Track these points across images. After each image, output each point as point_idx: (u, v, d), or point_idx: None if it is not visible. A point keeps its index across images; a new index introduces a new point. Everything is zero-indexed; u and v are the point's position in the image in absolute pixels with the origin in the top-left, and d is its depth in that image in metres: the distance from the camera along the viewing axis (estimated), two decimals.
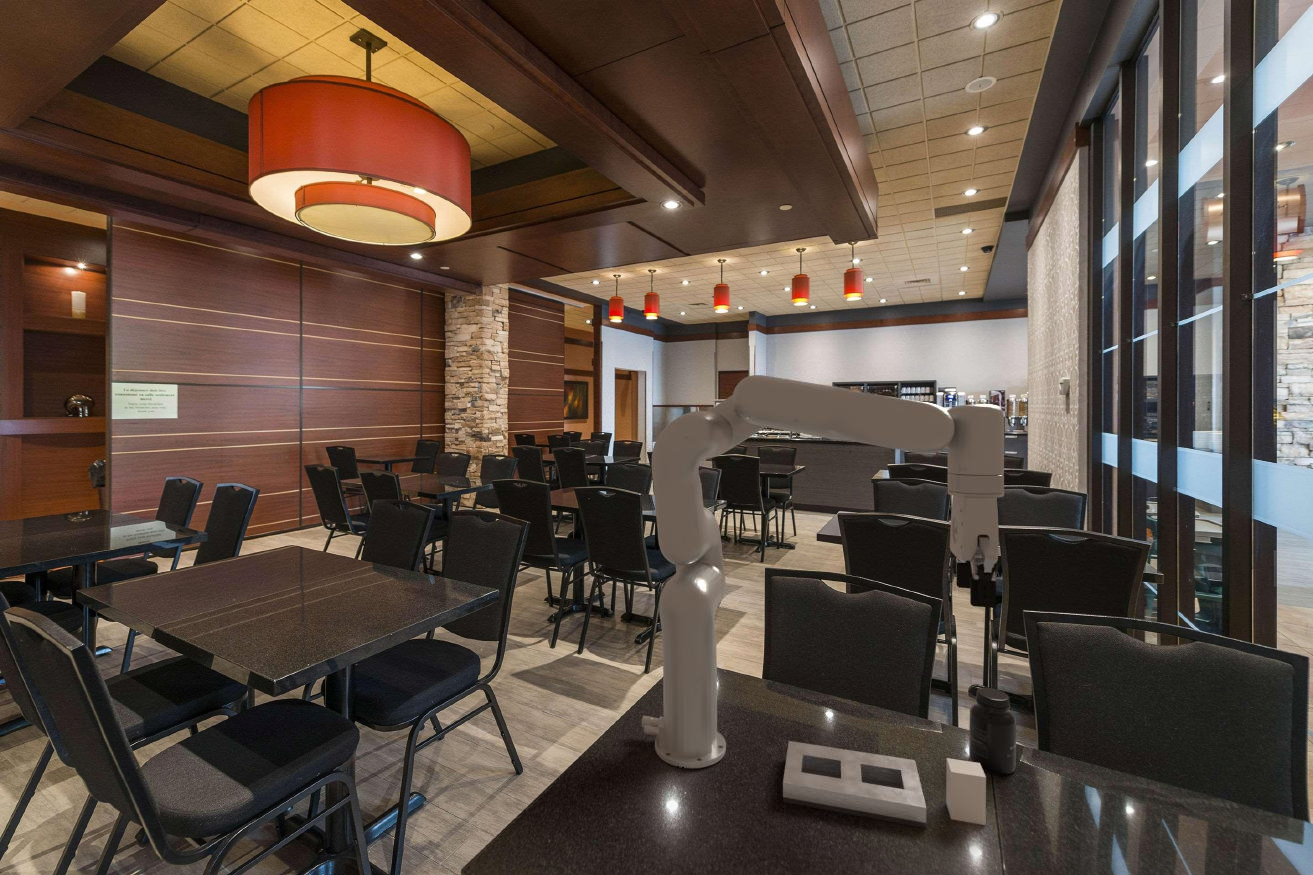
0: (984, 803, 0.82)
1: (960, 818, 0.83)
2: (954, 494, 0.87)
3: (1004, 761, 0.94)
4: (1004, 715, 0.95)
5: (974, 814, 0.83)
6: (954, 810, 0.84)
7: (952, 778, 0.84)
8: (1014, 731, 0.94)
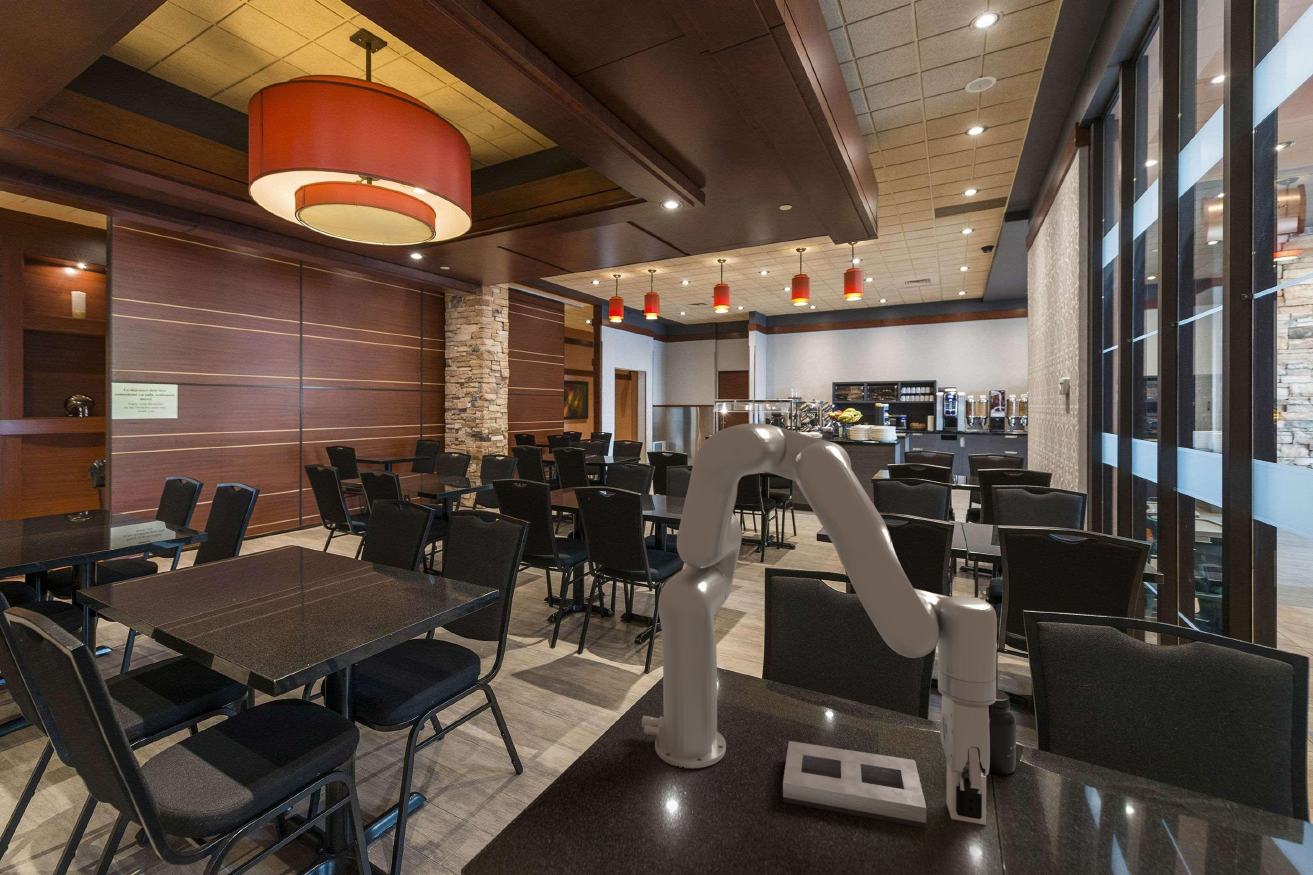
0: (984, 803, 0.82)
1: (960, 818, 0.83)
2: (944, 695, 0.83)
3: (1004, 761, 0.94)
4: (1004, 715, 0.95)
5: None
6: (954, 810, 0.84)
7: (952, 778, 0.84)
8: (1014, 731, 0.94)
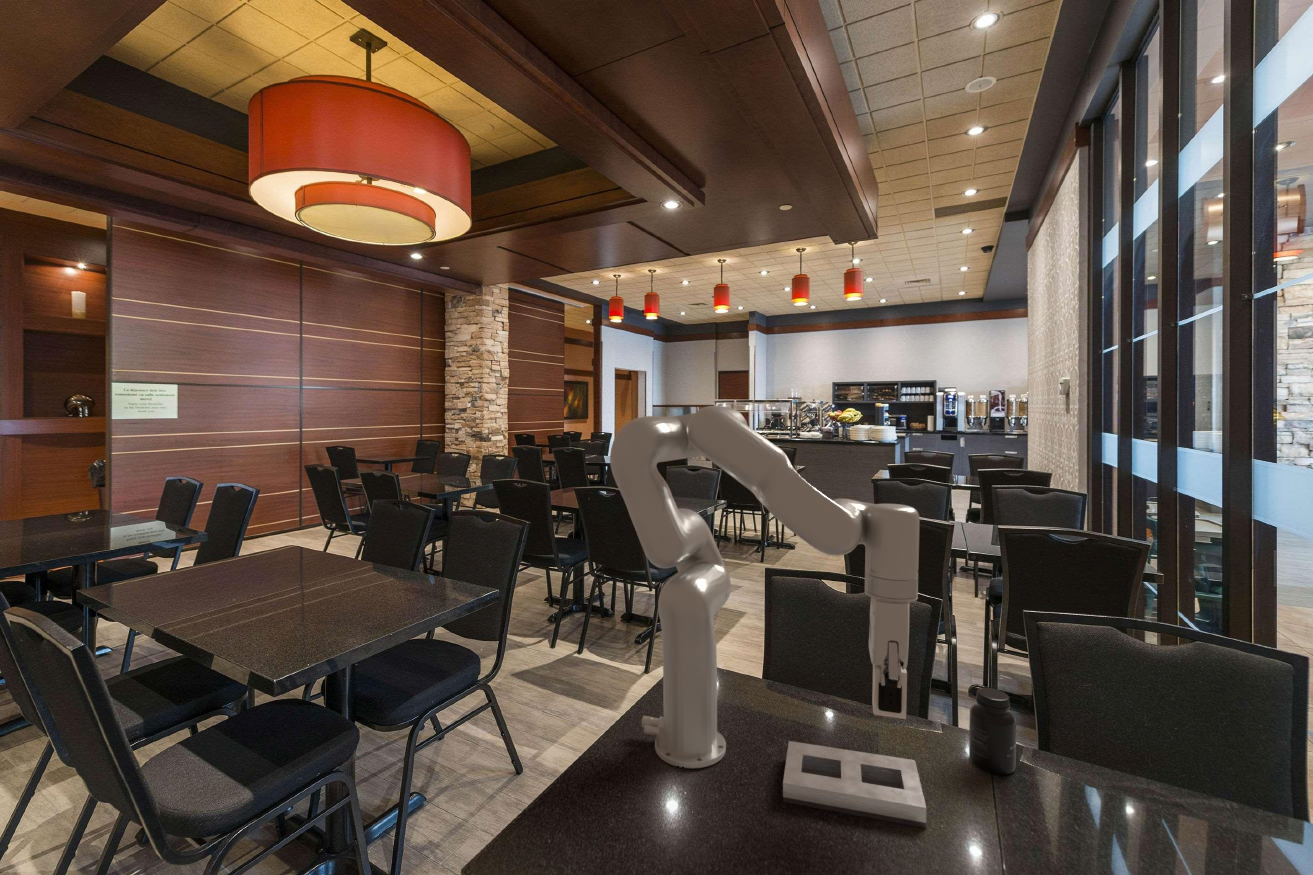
0: (905, 698, 0.86)
1: (882, 713, 0.87)
2: (869, 595, 0.87)
3: (1004, 761, 0.94)
4: (1004, 715, 0.95)
5: None
6: (877, 706, 0.87)
7: (875, 675, 0.87)
8: (1014, 731, 0.94)
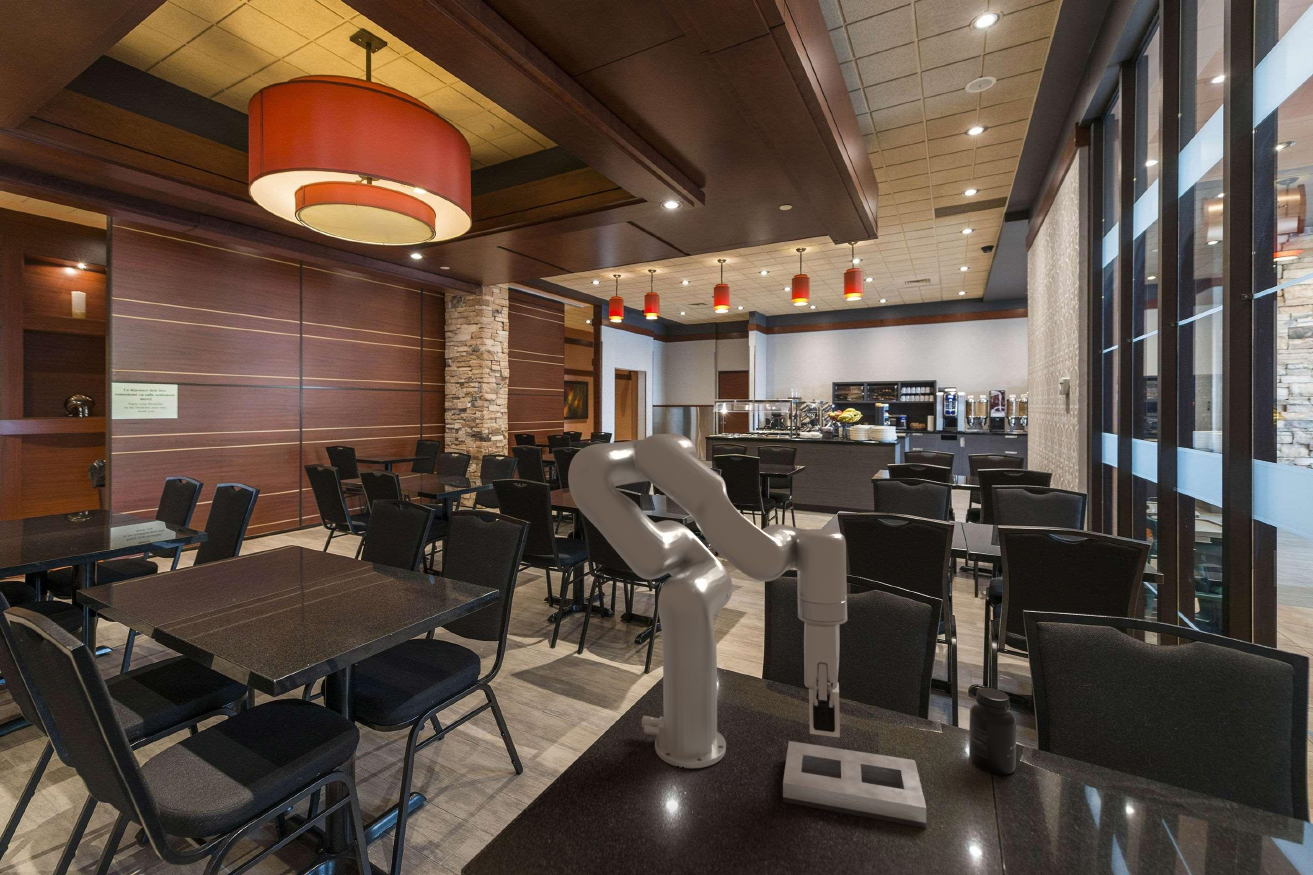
0: (838, 717, 0.89)
1: (818, 732, 0.90)
2: (800, 618, 0.90)
3: (1004, 761, 0.94)
4: (1004, 715, 0.95)
5: None
6: (812, 725, 0.90)
7: (810, 695, 0.90)
8: (1014, 731, 0.94)
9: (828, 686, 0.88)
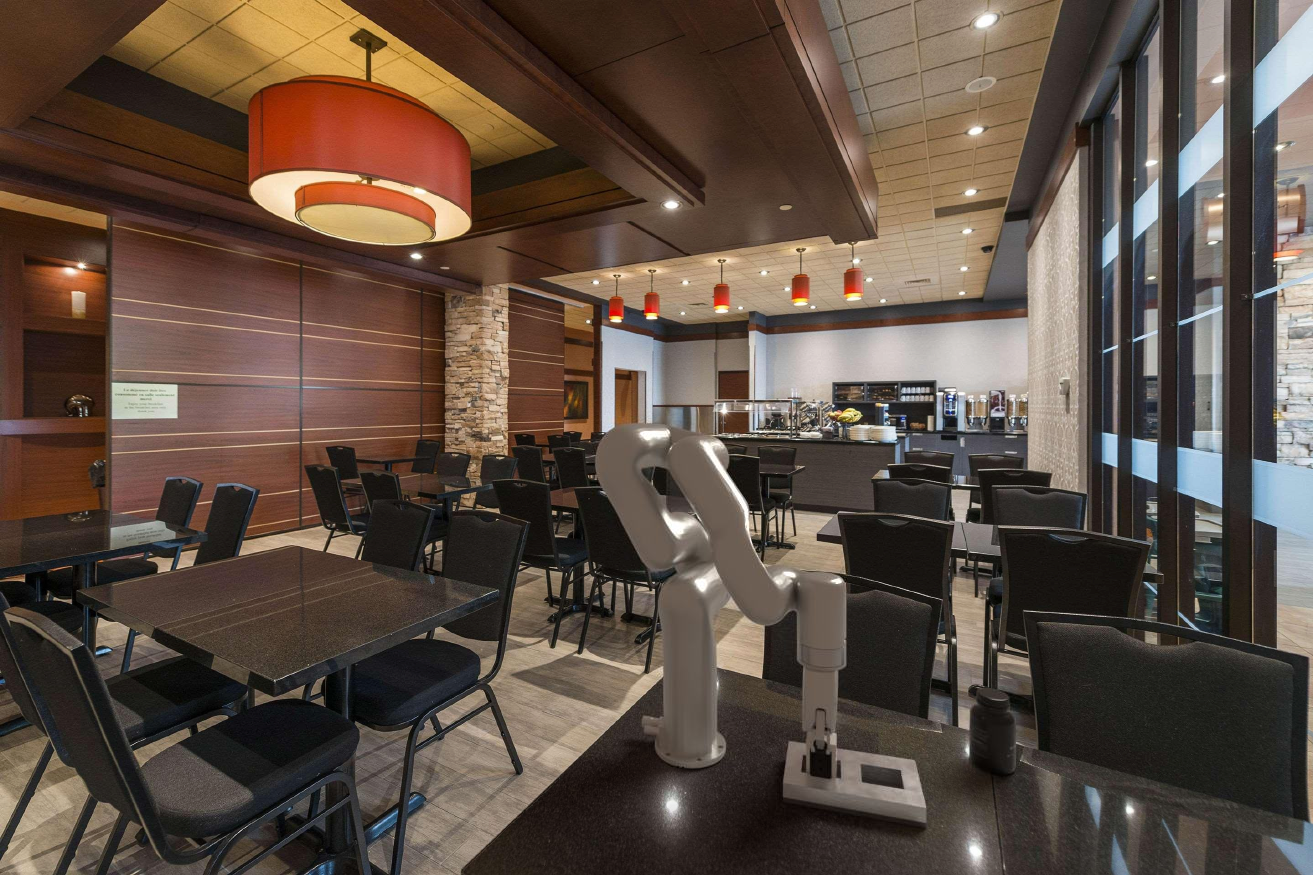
0: (834, 769, 0.89)
1: None
2: (799, 662, 0.90)
3: (1004, 761, 0.94)
4: (1004, 715, 0.95)
5: None
6: None
7: (807, 746, 0.91)
8: (1014, 731, 0.94)
9: (826, 731, 0.88)
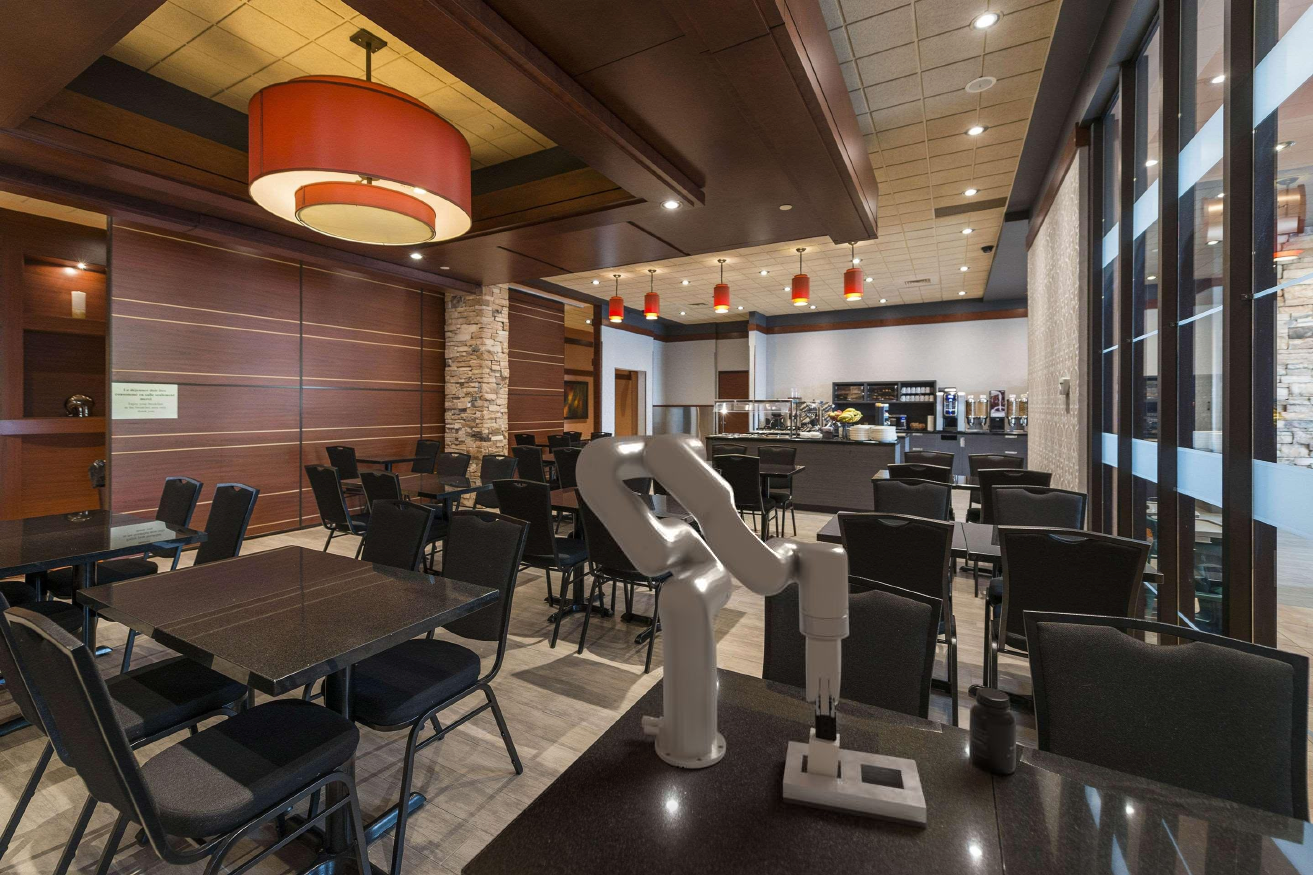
0: (836, 769, 0.89)
1: None
2: (802, 632, 0.90)
3: (1004, 761, 0.94)
4: (1004, 715, 0.95)
5: None
6: None
7: (810, 745, 0.90)
8: (1014, 731, 0.94)
9: (830, 698, 0.89)
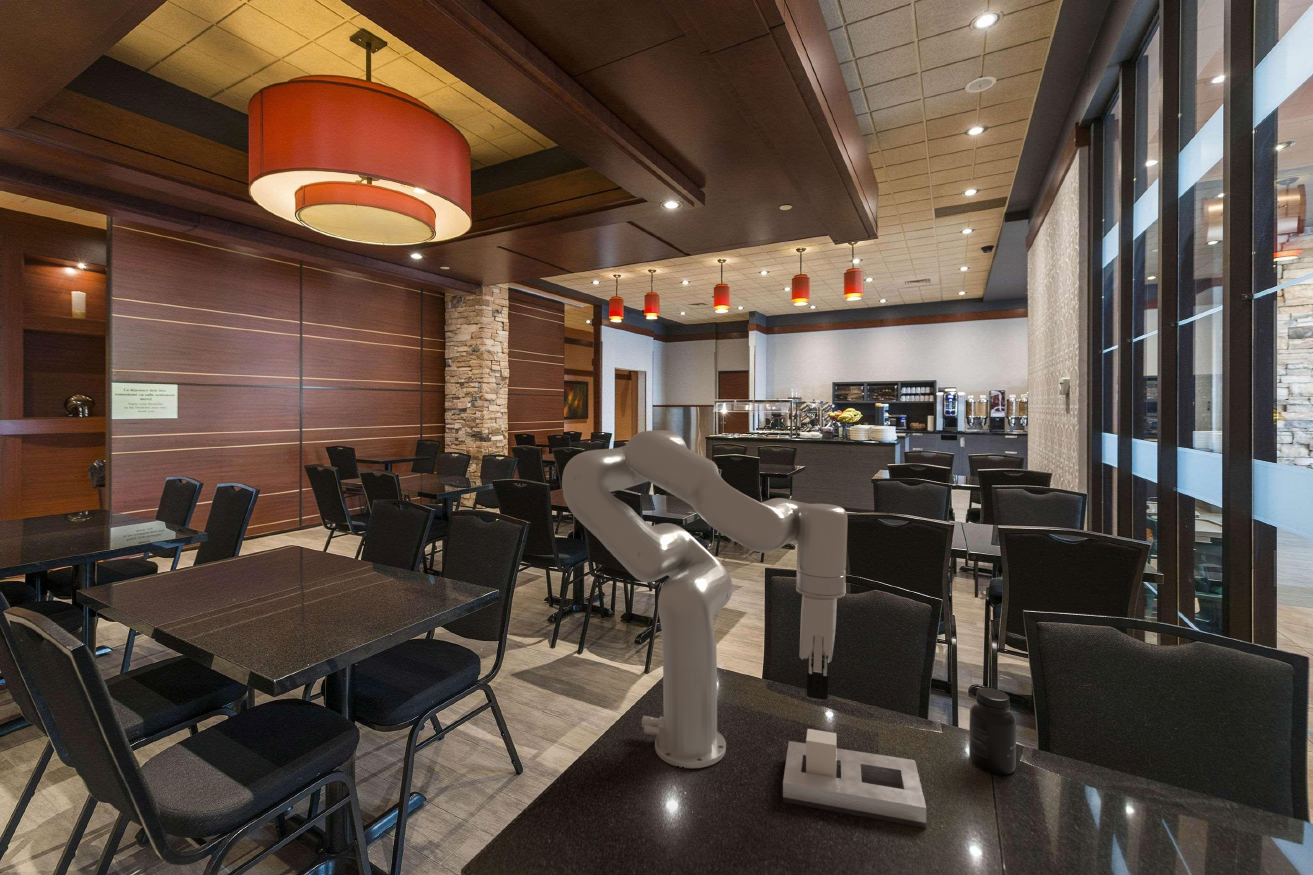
0: (834, 769, 0.89)
1: None
2: (798, 591, 0.90)
3: (1004, 761, 0.94)
4: (1004, 715, 0.95)
5: None
6: None
7: (807, 746, 0.91)
8: (1014, 731, 0.94)
9: (823, 657, 0.90)
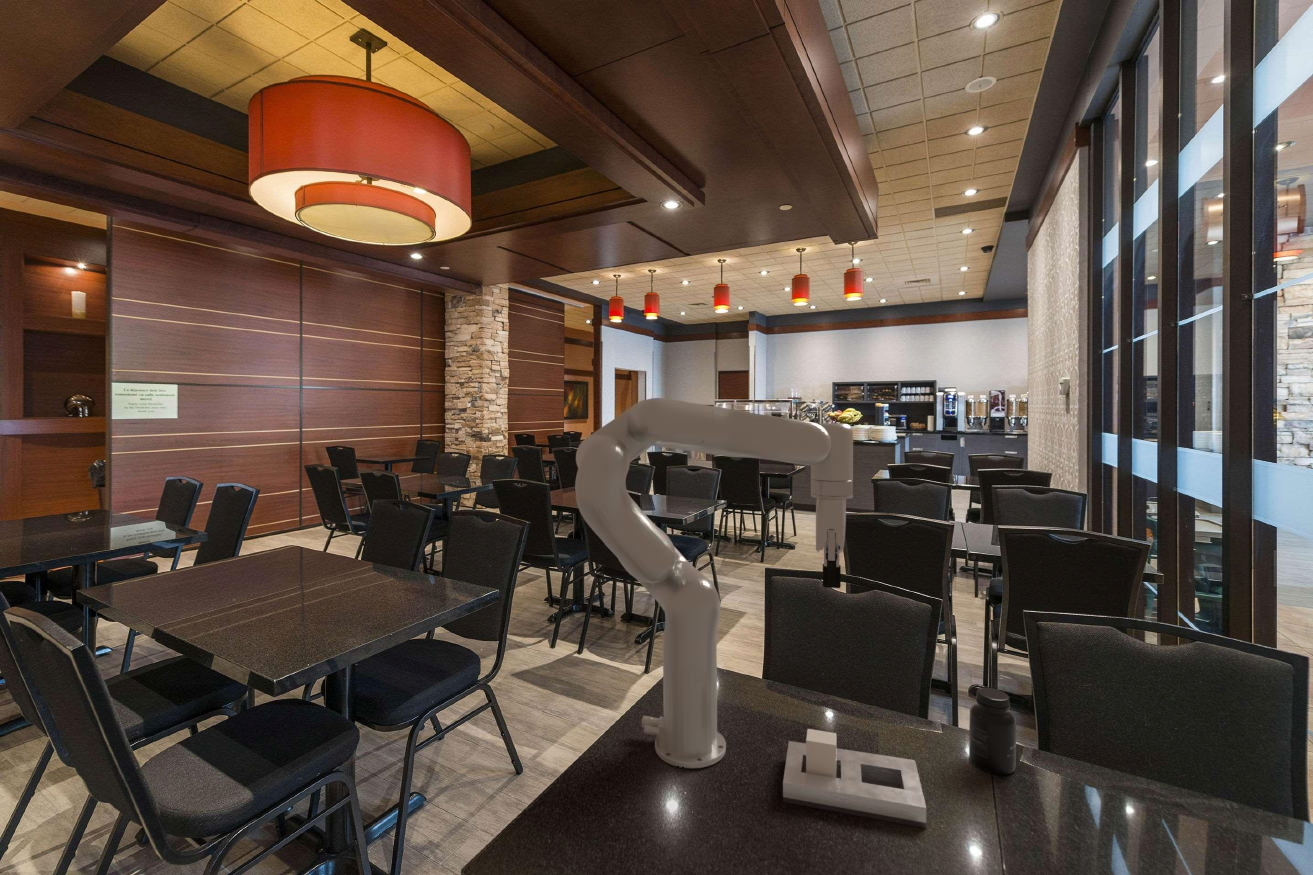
0: (834, 769, 0.89)
1: None
2: (813, 496, 1.07)
3: (1004, 761, 0.94)
4: (1004, 715, 0.95)
5: None
6: None
7: (807, 746, 0.91)
8: (1014, 731, 0.94)
9: (836, 551, 1.06)
